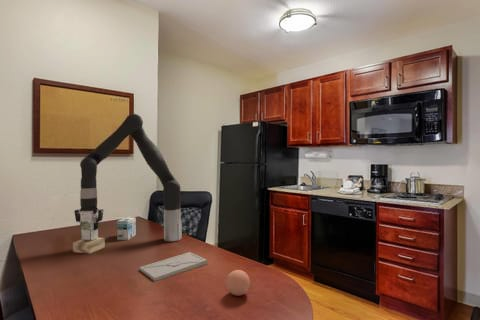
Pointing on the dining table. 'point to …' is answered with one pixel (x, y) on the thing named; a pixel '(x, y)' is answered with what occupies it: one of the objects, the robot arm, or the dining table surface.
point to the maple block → (88, 245)
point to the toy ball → (238, 282)
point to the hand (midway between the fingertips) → (89, 229)
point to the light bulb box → (126, 228)
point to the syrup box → (88, 225)
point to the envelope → (172, 266)
